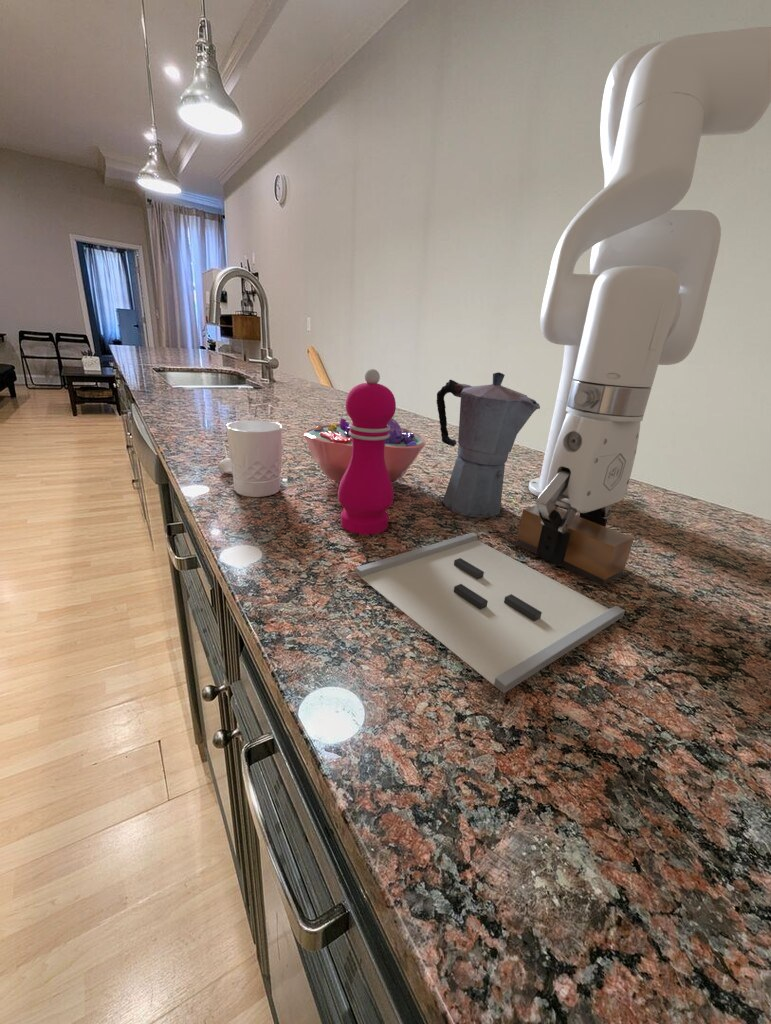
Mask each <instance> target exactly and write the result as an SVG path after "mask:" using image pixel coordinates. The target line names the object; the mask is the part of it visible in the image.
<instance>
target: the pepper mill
mask: <svg viewBox="0 0 771 1024" xmlns="http://www.w3.org/2000/svg"><path fill="white" fill-rule="evenodd" d="M380 379H381V375H380V372H379V371H378V370H377V369H375V368H370V369H368V370H366V371H365V373H364V380H365V382H361V383H359V384H356V385H355V386H353V387H352V388H351V389H350V390H349V391H348V393H347V395H346V399H345V412H346V415H348V417H349V418H350V420H351V422H349V423H350V424H349V427H350V431H349V435H350V436H351V437H352V456H351V460H350V463H349V466H348V468H347V470H346V472H345V473H344V475H343V477H342V479H341V482H339V486H338V491H337V500H338V502H339V505H340V506H341V507H342V508H343V510H341V512H340V526H341V528H342V529H344V530H345V531H347V532H349V533H351V534H357V535H376V534H381V533H382V532H385V531H386V530H387V529H388V527H389V513H388V512H387V510H388V509H389V508H390V507H391V506H392V504H393V503H394V496H395V495H394V493H395V491H394V487H393V482H392V481H391V479H390V476H389V473H388V471H387V468H386V464H385V459H384V447H385V441H386V439H387V438H389V436H390V435H389V430H390V426H389V425H387V424H388V422H389V420H390V419H391V418H393V417H394V415H395V413H396V410H397V409H396V407H397V404H396V403H397V402H396V398H395V394H393V392H392V391H391V390H390V388H388V387H387V386H385V385H384V384H381V383H379V382H380Z"/></svg>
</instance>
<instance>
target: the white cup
mask: <svg viewBox="0 0 771 1024" xmlns="http://www.w3.org/2000/svg"><path fill="white" fill-rule="evenodd" d="M225 429H226V433H227V434H226V435H227V444H228V445H227V446H228V452H229V458H230V461H231V469H232V479H233V489H234V491H235V493H236V494H238V495H240V496H243V497H249V498H261V497H262V498H263V497H268V496H272V495H275V494H277V493H278V492H279V491H280V489H281V474H282V463H283V462H282V461H283V424H281V423H279V422H275V421H269V420H262V419H261V420H259V419H258V420H257V419H248V420H247V419H245V420H237V421H236V420H235V421H231V422H229V423H227V424H226V427H225Z"/></svg>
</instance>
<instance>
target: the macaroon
mask: <svg viewBox="0 0 771 1024" xmlns="http://www.w3.org/2000/svg"><path fill="white" fill-rule="evenodd" d="M218 462H219V463H218V464H217V468H218V469H219V471H220V472H222V473H224V474H229V475H231V474H232V469H231V461H230V457H227V458H226V457H225V458H224V459H222V460H219V461H218ZM232 475H233V474H232Z"/></svg>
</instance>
